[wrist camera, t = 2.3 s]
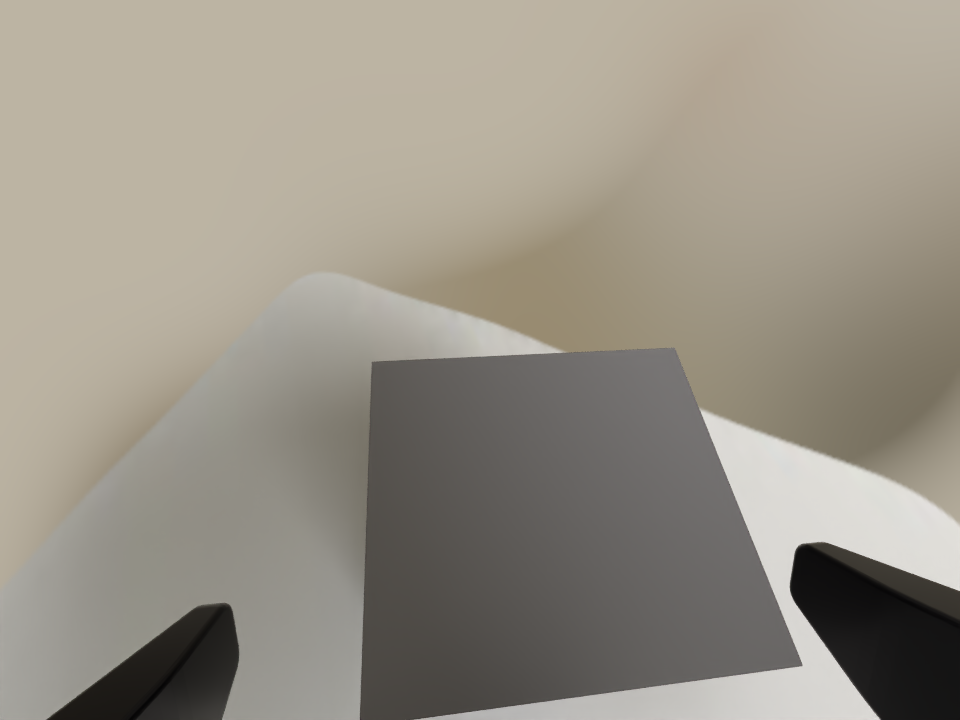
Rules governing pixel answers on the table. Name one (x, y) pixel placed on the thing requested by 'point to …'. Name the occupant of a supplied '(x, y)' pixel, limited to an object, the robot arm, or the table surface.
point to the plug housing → (551, 536)
